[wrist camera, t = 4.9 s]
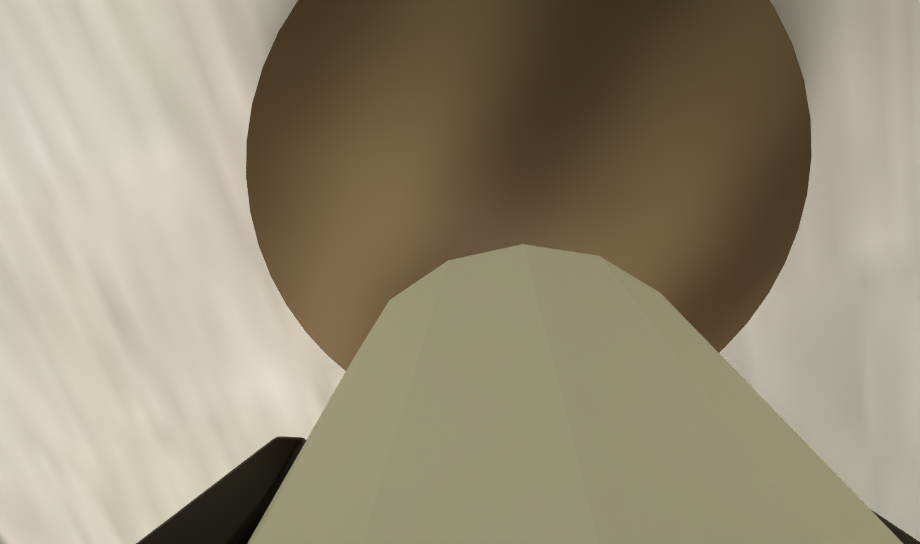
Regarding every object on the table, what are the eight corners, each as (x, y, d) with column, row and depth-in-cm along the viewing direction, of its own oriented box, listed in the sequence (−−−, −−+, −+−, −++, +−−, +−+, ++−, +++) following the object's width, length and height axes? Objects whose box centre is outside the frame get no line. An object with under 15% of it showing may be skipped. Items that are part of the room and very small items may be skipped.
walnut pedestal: (867, 72, 17) (943, 79, 14) (590, 440, 22) (605, 498, 19) (404, -215, 15) (386, -272, 12) (219, 267, 20) (176, 303, 17)
